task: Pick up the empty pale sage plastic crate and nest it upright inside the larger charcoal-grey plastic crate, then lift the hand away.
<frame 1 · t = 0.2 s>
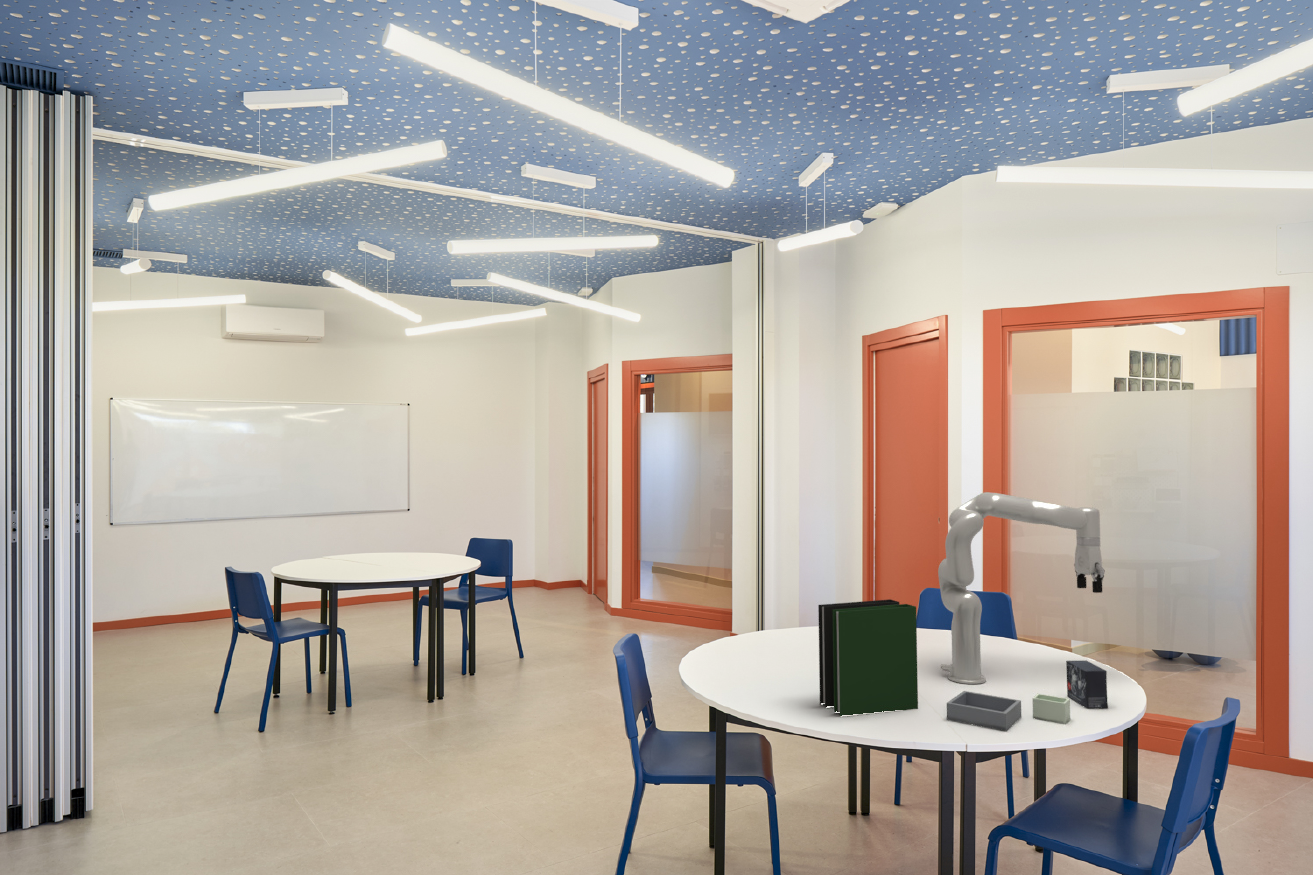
hand: (1089, 590, 286), 31 cm above the table, tool pointing down, fingers open, 9 cm apart
big crate: (984, 718, 242), on the table
small box: (1086, 703, 257), on the table
small crate: (1051, 718, 241), on the table
binder: (867, 706, 255), on the table
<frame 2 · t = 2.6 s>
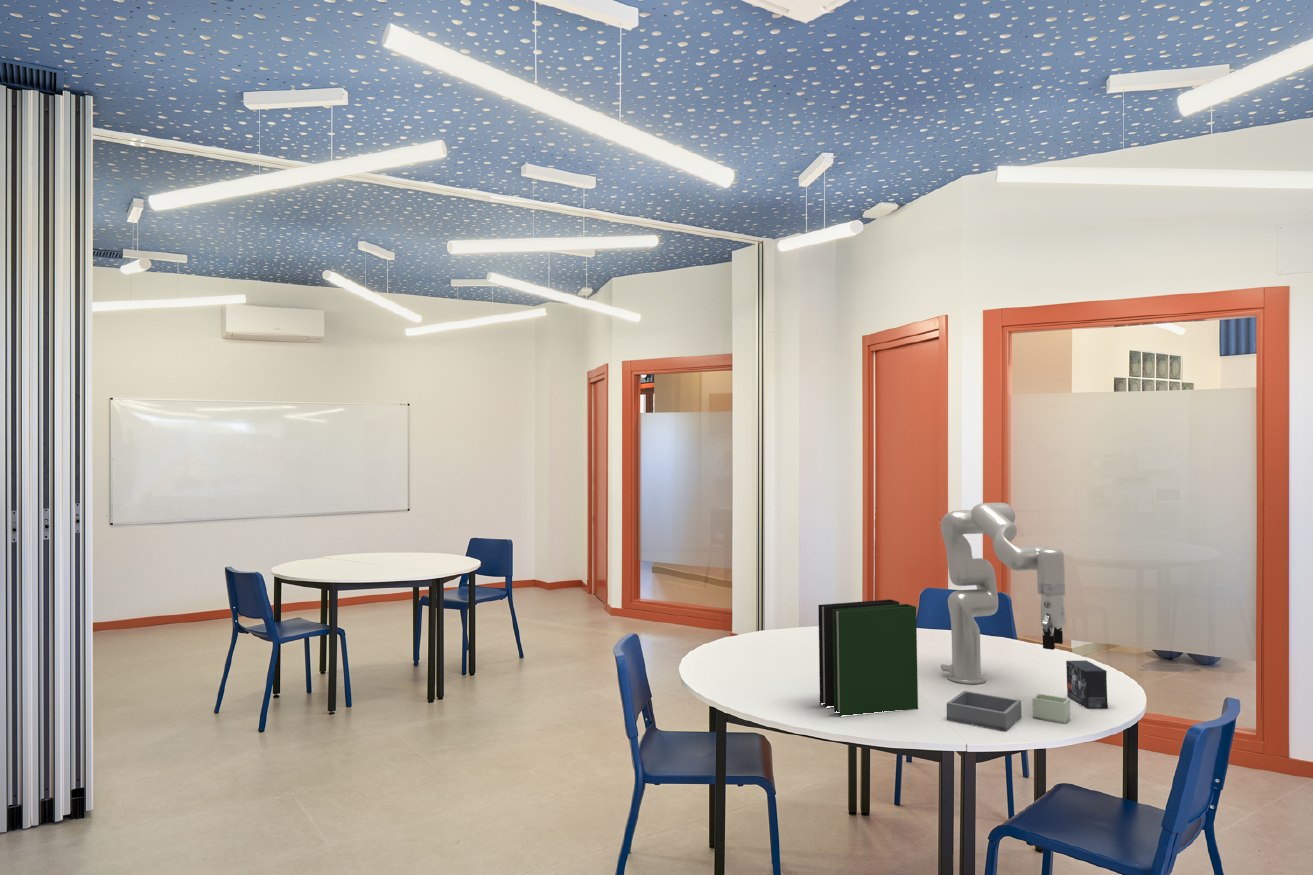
hand: (1053, 646, 244), 21 cm above the table, tool pointing down, fingers open, 9 cm apart
nothing on the table moved.
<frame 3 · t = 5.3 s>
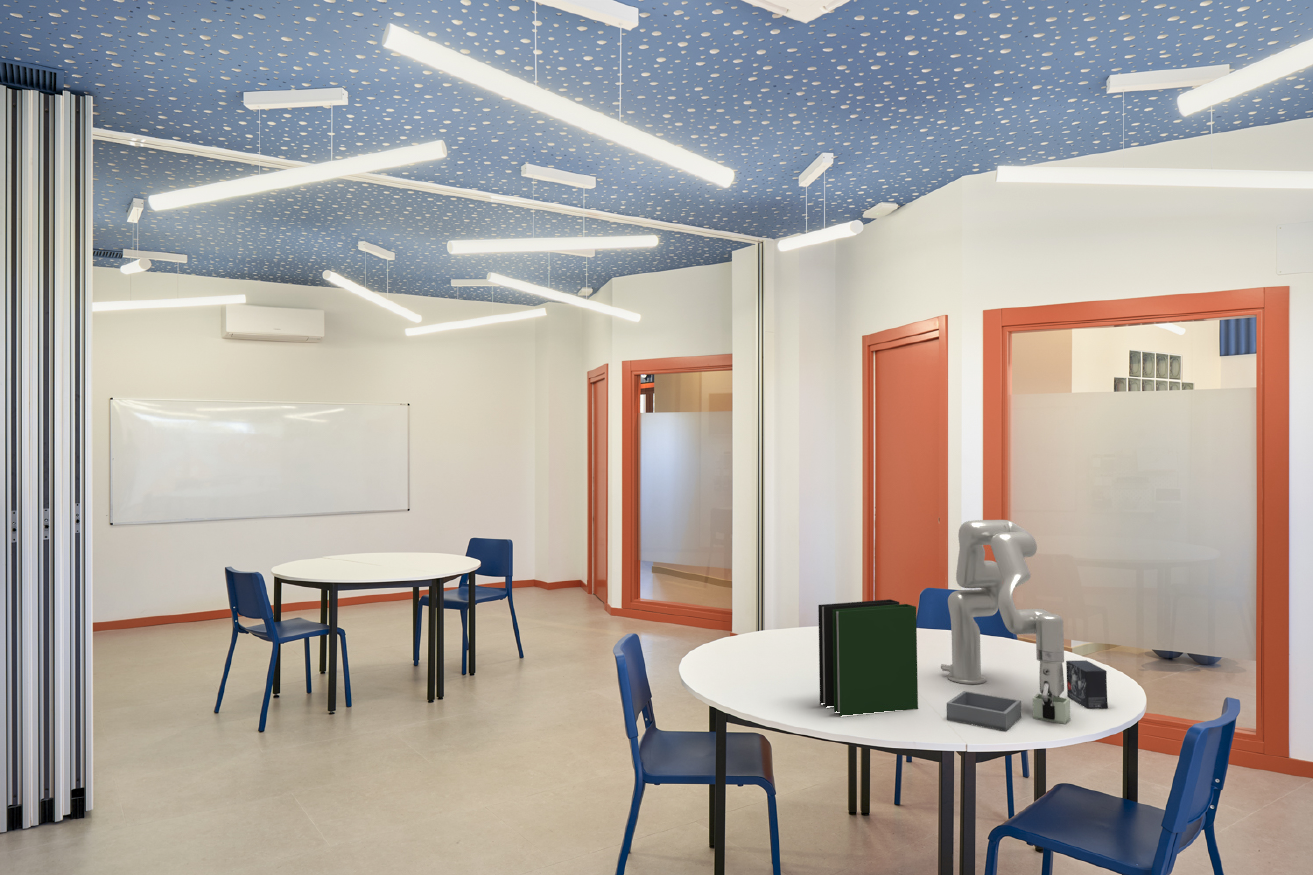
hand: (1051, 715, 241), 1 cm above the table, tool pointing down, fingers closed on small crate, 6 cm apart
small crate: (1051, 718, 241), on the table, touching gripper
everything else where it was.
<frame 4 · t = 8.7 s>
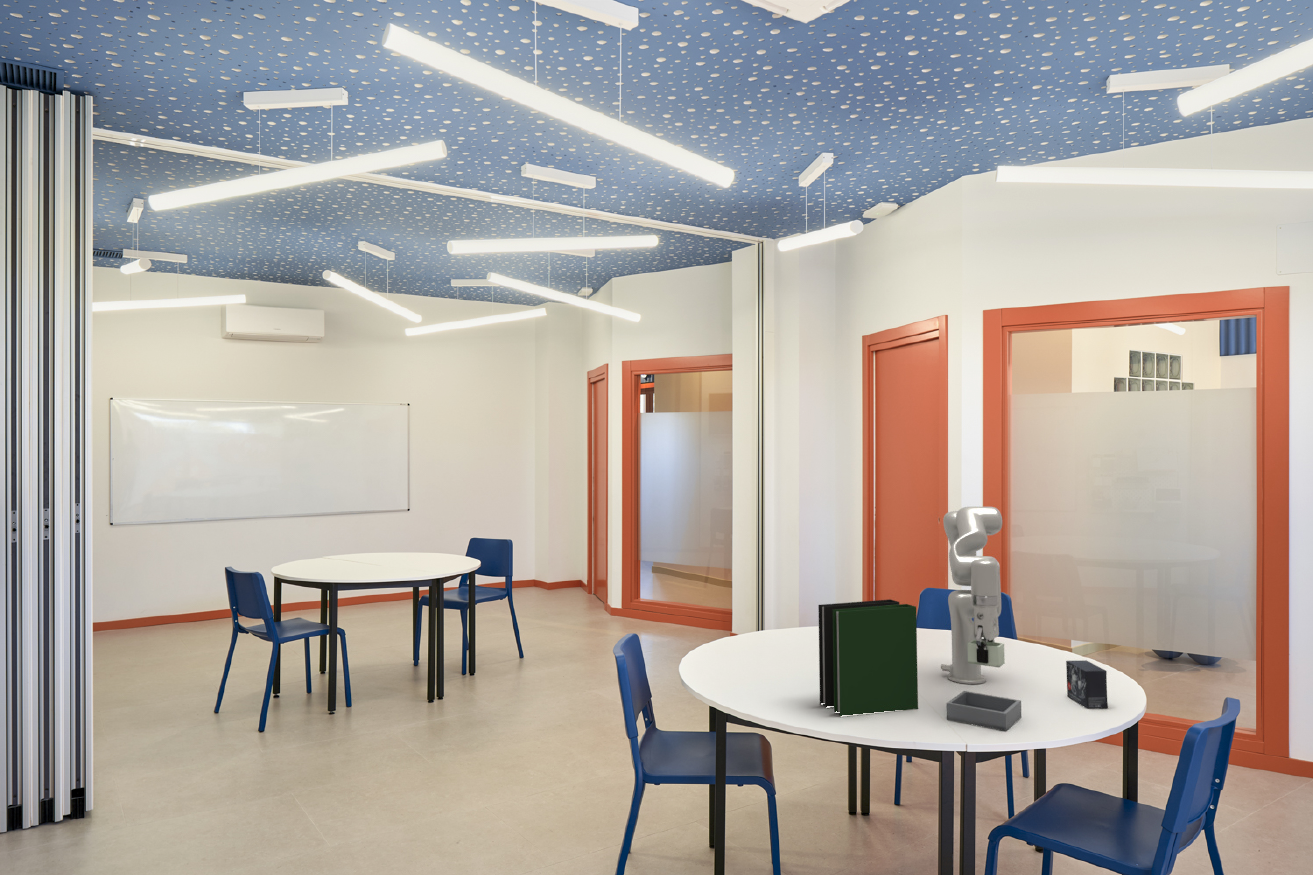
hand: (985, 659, 242), 18 cm above the table, tool pointing down, fingers closed on small crate, 6 cm apart
small crate: (986, 663, 242), point 17 cm above the table, touching gripper
everything else where it was.
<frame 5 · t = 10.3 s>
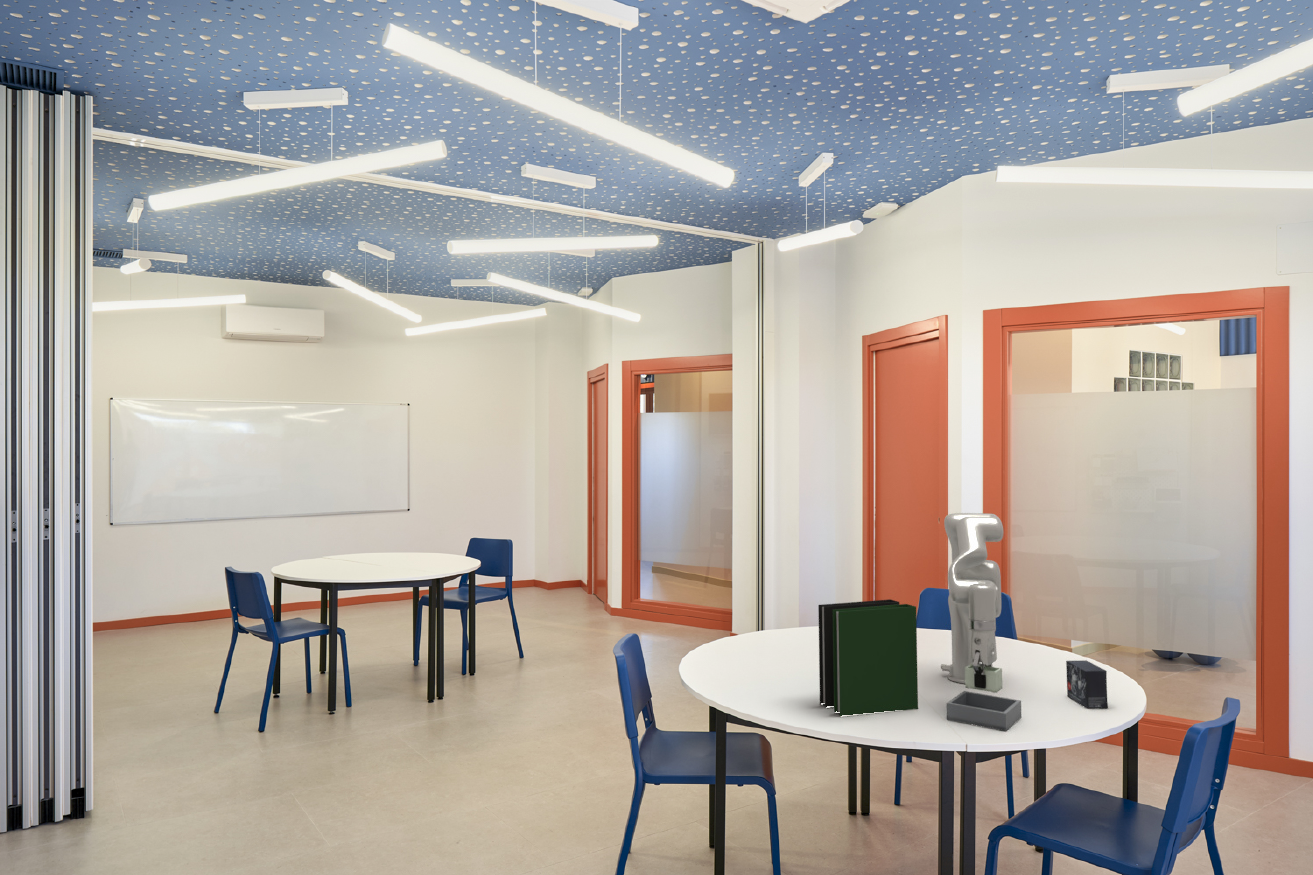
hand: (983, 684, 242), 10 cm above the table, tool pointing down, fingers closed on small crate, 6 cm apart
small crate: (983, 687, 242), point 9 cm above the table, touching gripper
everything else where it was.
when the fingers open (4 cm above the table, at t = 11.9 s): small crate drops 2 cm, resting on big crate.
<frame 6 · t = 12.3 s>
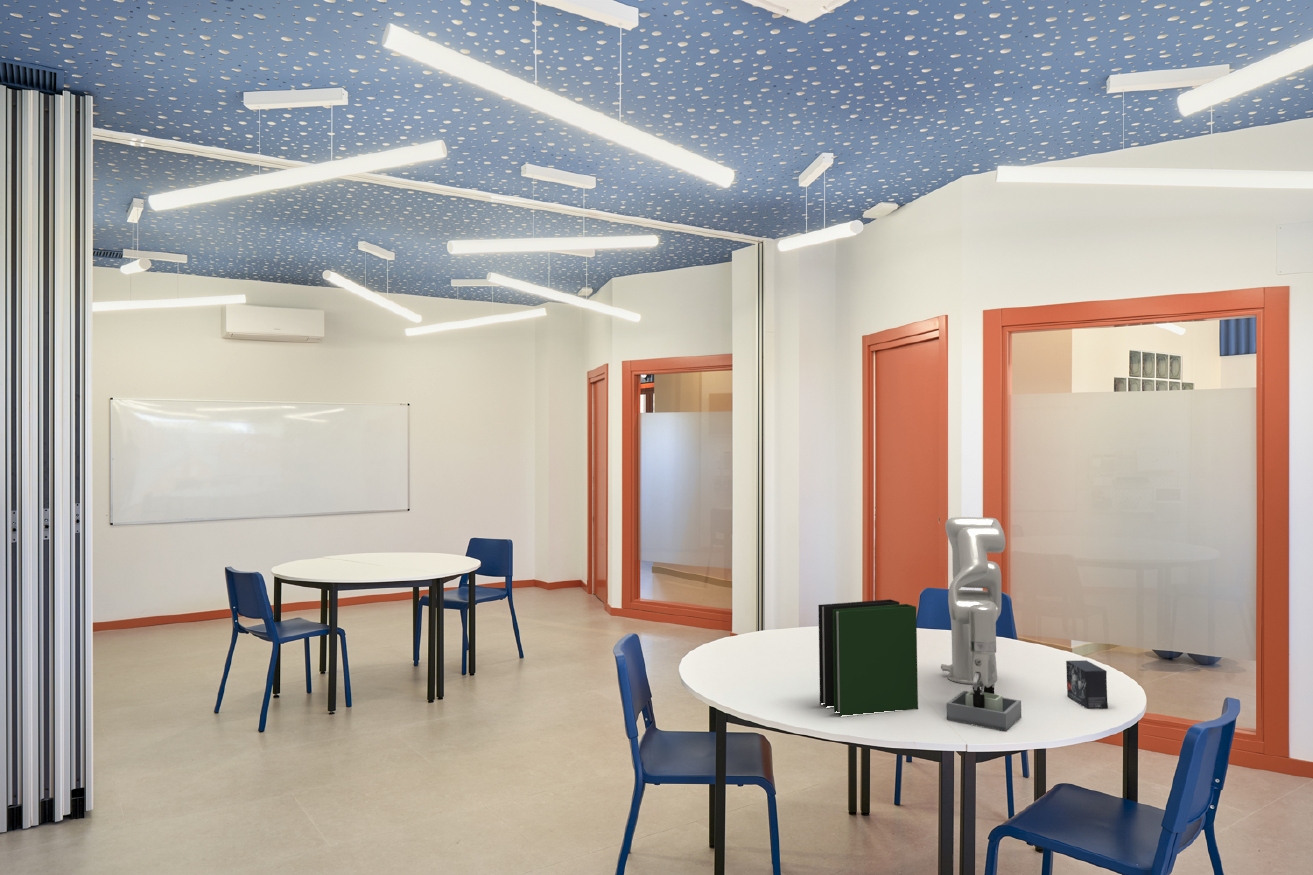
hand: (983, 703, 242), 4 cm above the table, tool pointing down, fingers open, 9 cm apart
small crate: (984, 714, 242), point 1 cm above the table, touching big crate
everything else where it was.
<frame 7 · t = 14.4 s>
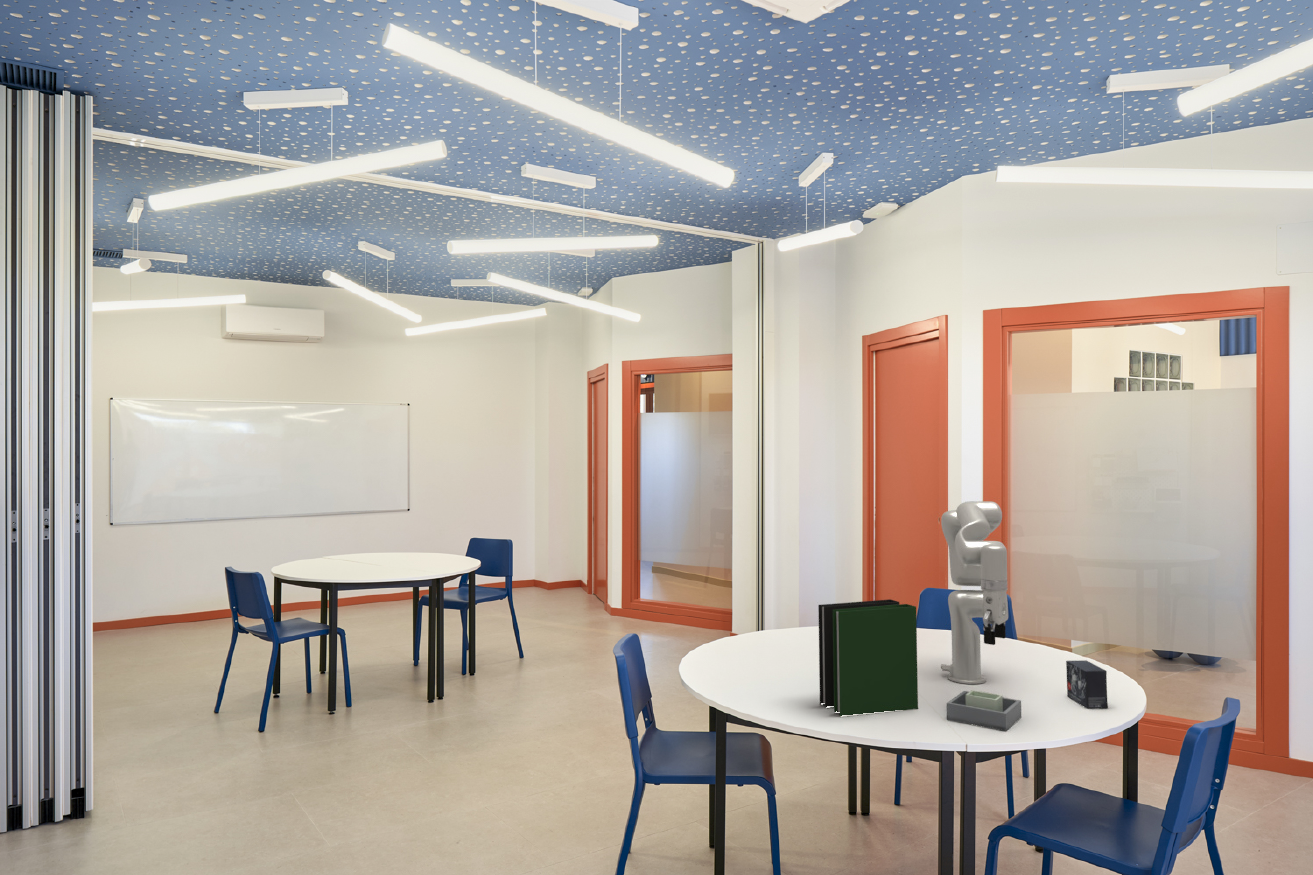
hand: (994, 640, 246), 23 cm above the table, tool pointing down, fingers open, 9 cm apart
nothing on the table moved.
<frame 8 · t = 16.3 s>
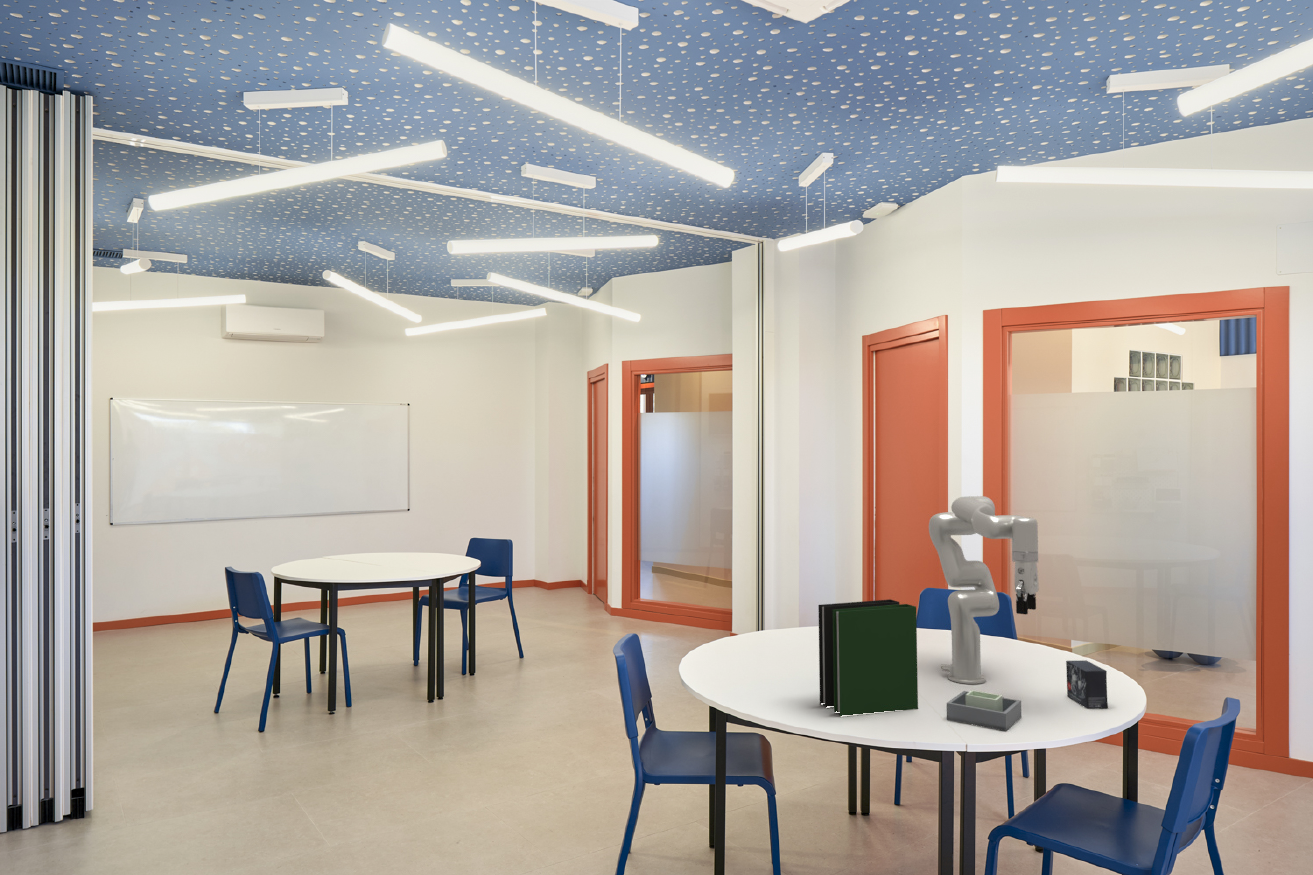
hand: (1026, 611, 252), 30 cm above the table, tool pointing down, fingers open, 9 cm apart
nothing on the table moved.
at the end: small crate inside the target area on the big crate (0.1 cm from its centre), point 1.0 cm above the big crate's base; small crate tilted 0°; the gripper is holding nothing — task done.
